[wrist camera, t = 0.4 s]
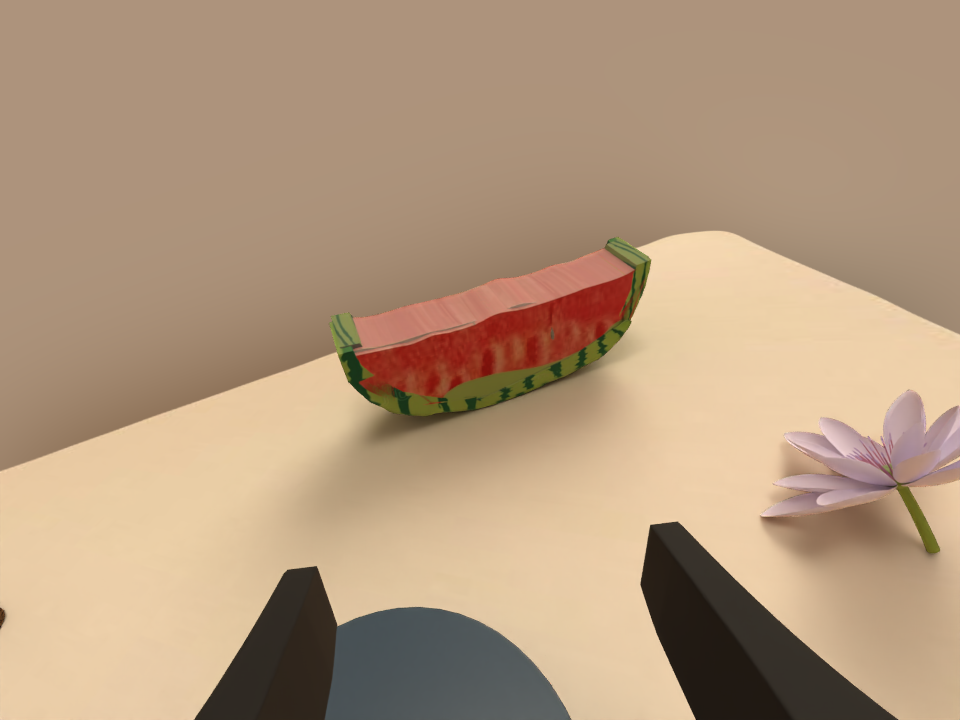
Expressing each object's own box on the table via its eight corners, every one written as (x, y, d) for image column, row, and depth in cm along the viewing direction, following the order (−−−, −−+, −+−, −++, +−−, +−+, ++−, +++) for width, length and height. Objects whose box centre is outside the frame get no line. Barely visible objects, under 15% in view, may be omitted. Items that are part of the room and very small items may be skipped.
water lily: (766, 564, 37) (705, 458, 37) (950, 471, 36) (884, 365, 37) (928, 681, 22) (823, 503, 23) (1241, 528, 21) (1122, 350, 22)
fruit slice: (607, 323, 50) (615, 233, 44) (644, 357, 46) (659, 262, 39) (358, 405, 44) (326, 314, 38) (372, 453, 40) (339, 359, 33)
